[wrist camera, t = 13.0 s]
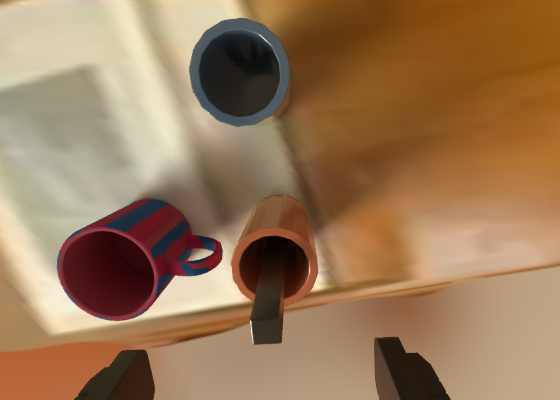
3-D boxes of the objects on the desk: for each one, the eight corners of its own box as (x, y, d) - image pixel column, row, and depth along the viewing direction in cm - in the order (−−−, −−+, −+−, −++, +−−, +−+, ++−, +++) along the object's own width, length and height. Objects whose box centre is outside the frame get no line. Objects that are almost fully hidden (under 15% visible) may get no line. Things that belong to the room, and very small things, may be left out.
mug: (113, 195, 26) (51, 221, 19) (233, 205, 25) (212, 234, 19) (117, 269, 27) (61, 316, 21) (230, 279, 27) (210, 330, 20)
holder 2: (237, 227, 26) (213, 272, 18) (275, 182, 25) (267, 210, 17) (283, 263, 26) (279, 322, 19) (323, 221, 25) (335, 264, 18)
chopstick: (273, 233, 25) (252, 345, 13) (271, 220, 25) (249, 319, 12) (288, 232, 25) (281, 344, 13) (286, 218, 25) (279, 318, 12)
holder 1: (211, 95, 23) (170, 81, 16) (252, 38, 22) (230, -6, 15) (262, 138, 24) (247, 146, 16) (305, 85, 23) (310, 66, 15)
